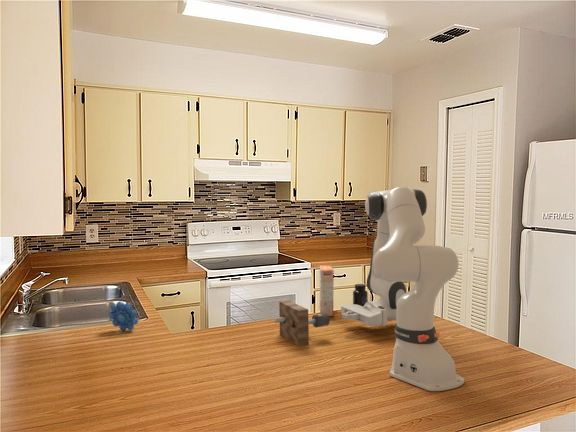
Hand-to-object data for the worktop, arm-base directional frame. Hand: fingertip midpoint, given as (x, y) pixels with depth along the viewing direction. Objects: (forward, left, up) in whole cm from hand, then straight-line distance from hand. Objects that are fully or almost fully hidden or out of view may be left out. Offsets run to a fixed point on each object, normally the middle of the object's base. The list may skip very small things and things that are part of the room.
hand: (344, 316), depth 182 cm
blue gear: (+46, +76, -7) cm, 89 cm away
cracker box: (+31, -11, -7) cm, 34 cm away
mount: (+4, +20, -7) cm, 22 cm away
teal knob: (+8, +19, -2) cm, 21 cm away
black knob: (0, +15, -2) cm, 15 cm away
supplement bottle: (+27, -27, -7) cm, 39 cm away
